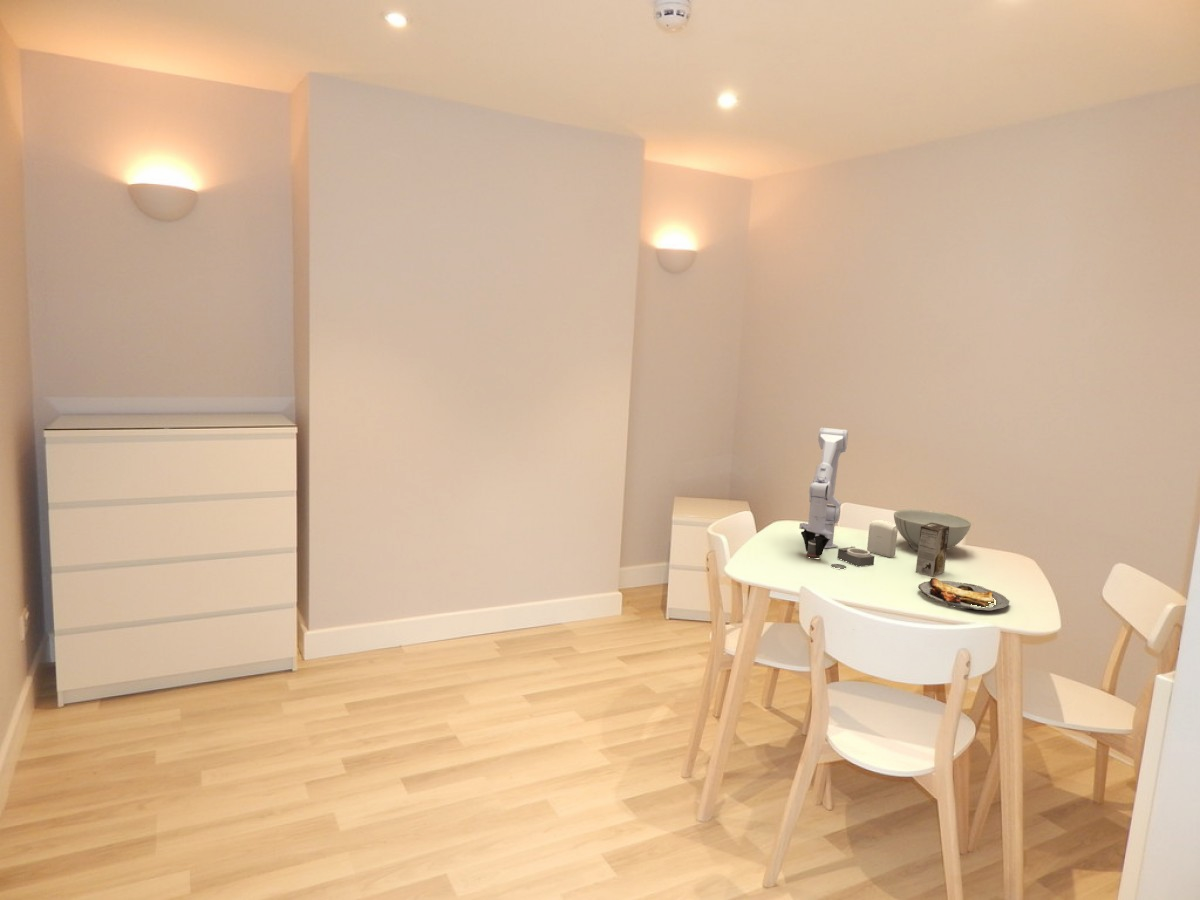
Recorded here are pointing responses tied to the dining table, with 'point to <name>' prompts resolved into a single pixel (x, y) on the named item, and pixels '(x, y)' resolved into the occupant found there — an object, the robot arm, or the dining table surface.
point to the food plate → (963, 594)
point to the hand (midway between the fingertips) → (813, 553)
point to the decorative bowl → (914, 519)
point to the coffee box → (932, 549)
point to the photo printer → (882, 538)
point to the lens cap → (838, 566)
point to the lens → (812, 549)
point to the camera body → (856, 556)
